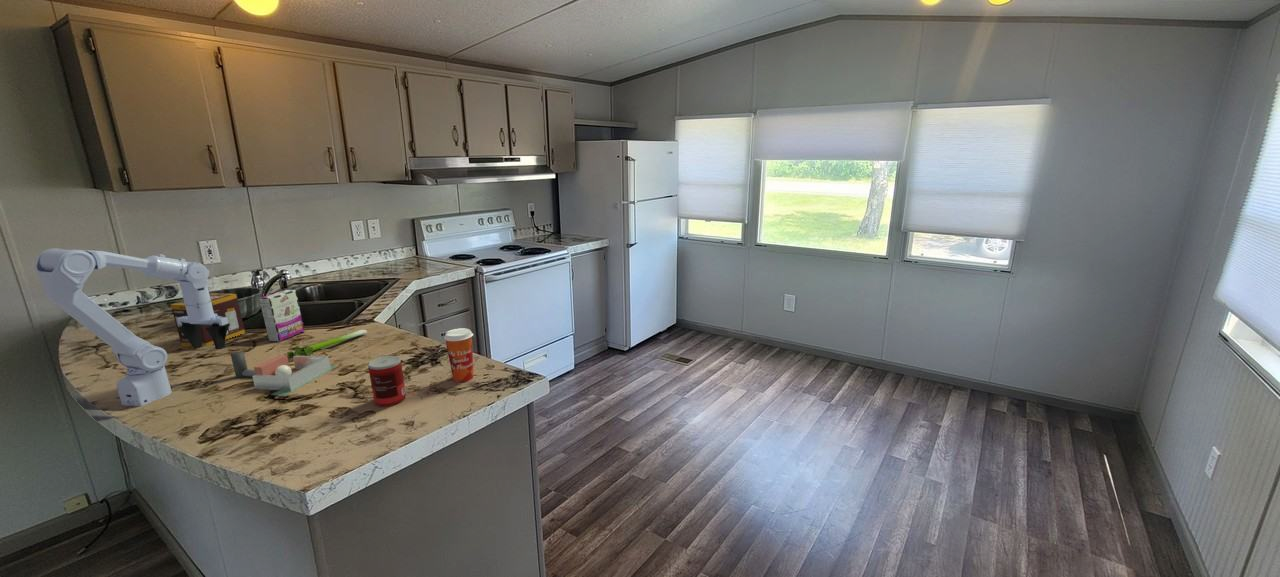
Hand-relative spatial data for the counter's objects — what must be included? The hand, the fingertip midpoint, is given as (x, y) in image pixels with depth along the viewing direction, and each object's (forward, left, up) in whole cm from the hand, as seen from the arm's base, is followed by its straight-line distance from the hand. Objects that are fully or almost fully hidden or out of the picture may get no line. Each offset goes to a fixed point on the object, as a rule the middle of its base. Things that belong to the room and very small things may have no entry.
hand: (209, 347), depth 149 cm
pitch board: (-1, -16, -9) cm, 18 cm away
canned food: (-9, -62, -10) cm, 63 cm away
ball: (-1, -24, -6) cm, 25 cm away
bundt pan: (+55, +53, -10) cm, 77 cm away
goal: (-1, -27, -8) cm, 28 cm away
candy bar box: (+35, +8, -10) cm, 37 cm away
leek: (+25, -17, -10) cm, 32 cm away
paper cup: (+6, -75, -10) cm, 76 cm away
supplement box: (+30, +33, -10) cm, 46 cm away
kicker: (-1, -15, -8) cm, 17 cm away
